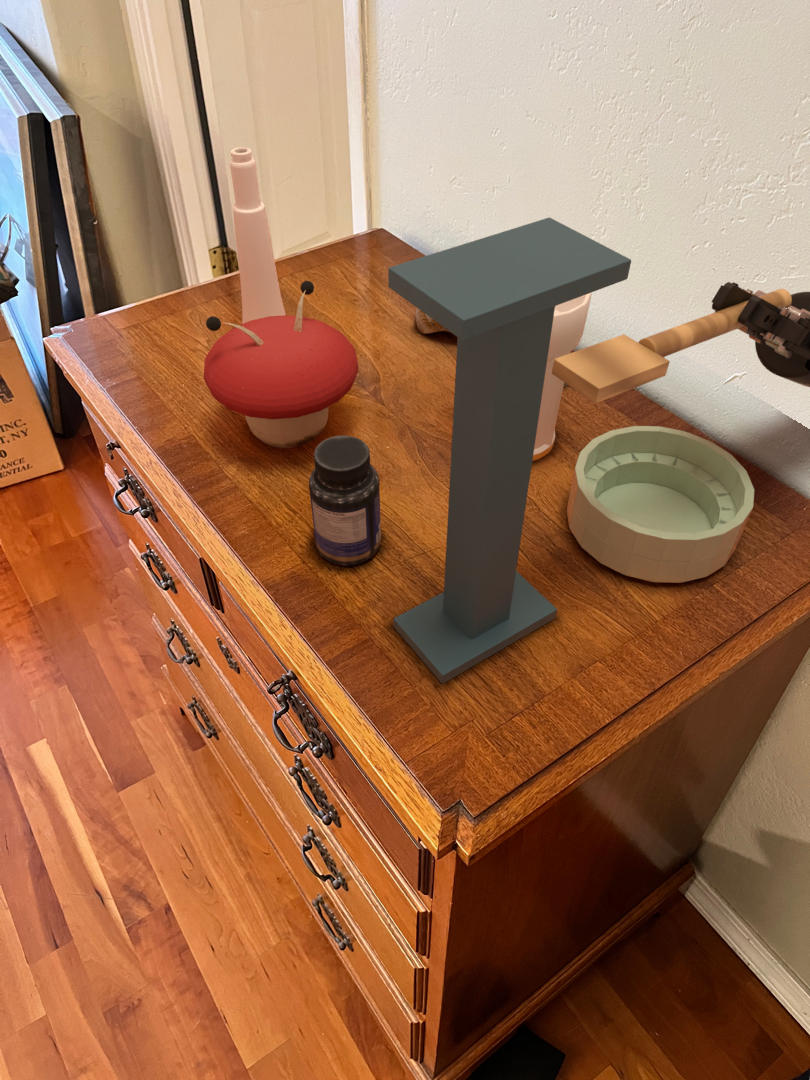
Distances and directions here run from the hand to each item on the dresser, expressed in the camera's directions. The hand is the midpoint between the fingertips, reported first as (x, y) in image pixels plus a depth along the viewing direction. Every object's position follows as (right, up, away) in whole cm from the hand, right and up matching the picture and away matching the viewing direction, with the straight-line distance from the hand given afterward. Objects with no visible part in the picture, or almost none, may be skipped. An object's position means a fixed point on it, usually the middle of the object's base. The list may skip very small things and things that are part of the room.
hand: (735, 303), depth 61 cm
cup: (-14, -7, +25) cm, 29 cm away
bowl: (-2, -17, +15) cm, 23 cm away
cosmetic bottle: (-43, +8, +40) cm, 59 cm away
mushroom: (-38, -6, +26) cm, 46 cm away
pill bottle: (-31, -19, +13) cm, 38 cm away
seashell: (-18, +9, +41) cm, 45 cm away
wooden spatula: (-4, -3, -1) cm, 5 cm away
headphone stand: (-19, -25, +7) cm, 32 cm away
